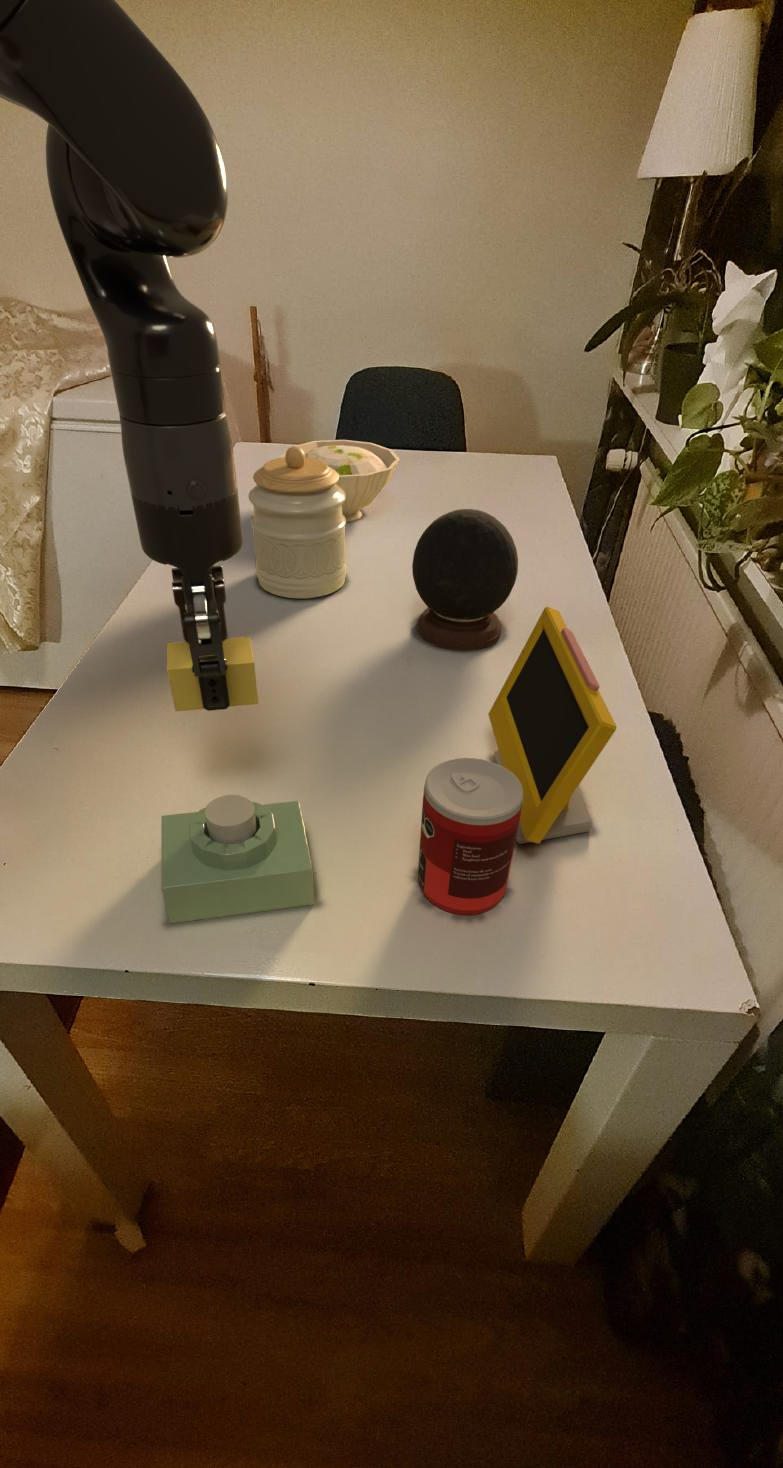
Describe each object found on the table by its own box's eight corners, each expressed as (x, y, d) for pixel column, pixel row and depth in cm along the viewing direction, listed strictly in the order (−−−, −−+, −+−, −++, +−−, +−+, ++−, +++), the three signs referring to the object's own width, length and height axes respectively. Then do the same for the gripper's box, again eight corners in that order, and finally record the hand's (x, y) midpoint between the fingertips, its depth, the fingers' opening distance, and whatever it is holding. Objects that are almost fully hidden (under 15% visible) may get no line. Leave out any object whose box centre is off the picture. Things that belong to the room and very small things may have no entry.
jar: (237, 582, 110) (222, 447, 98) (298, 555, 118) (291, 426, 106) (305, 609, 105) (298, 470, 93) (364, 578, 112) (365, 446, 100)
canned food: (446, 843, 72) (456, 745, 64) (522, 879, 68) (542, 781, 61) (399, 890, 67) (404, 791, 59) (477, 931, 64) (494, 832, 56)
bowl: (314, 543, 121) (311, 475, 114) (266, 503, 133) (261, 440, 126) (419, 524, 128) (422, 459, 121) (365, 488, 140) (365, 427, 133)
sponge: (175, 711, 65) (167, 669, 62) (174, 684, 68) (166, 642, 65) (258, 704, 66) (254, 662, 63) (254, 677, 69) (249, 636, 67)
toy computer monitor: (484, 741, 84) (502, 602, 73) (554, 739, 84) (584, 602, 73) (519, 868, 69) (549, 720, 58) (604, 866, 70) (649, 719, 59)
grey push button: (209, 847, 62) (205, 828, 61) (207, 816, 65) (203, 797, 63) (258, 842, 63) (256, 823, 61) (254, 810, 66) (252, 792, 64)
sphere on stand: (503, 660, 96) (521, 538, 86) (400, 647, 98) (405, 526, 88) (512, 613, 106) (529, 499, 95) (418, 602, 107) (425, 488, 97)
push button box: (170, 923, 64) (157, 871, 59) (169, 850, 70) (157, 799, 66) (314, 904, 66) (311, 853, 61) (301, 835, 72) (297, 784, 68)
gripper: (132, 454, 59) (170, 655, 71) (126, 522, 49) (172, 743, 61) (230, 450, 61) (251, 648, 73) (244, 517, 51) (266, 734, 63)
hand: (215, 691), depth 67 cm, fingers closed on sponge, 4 cm apart
